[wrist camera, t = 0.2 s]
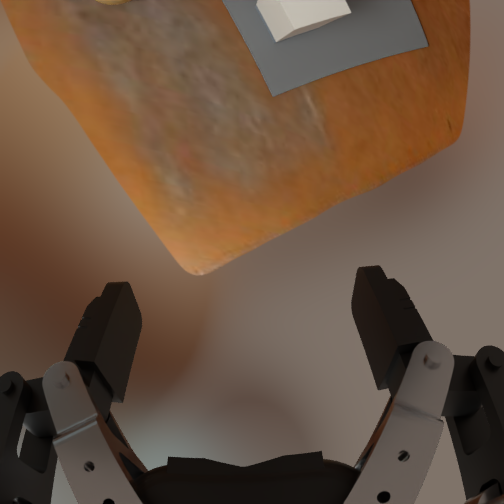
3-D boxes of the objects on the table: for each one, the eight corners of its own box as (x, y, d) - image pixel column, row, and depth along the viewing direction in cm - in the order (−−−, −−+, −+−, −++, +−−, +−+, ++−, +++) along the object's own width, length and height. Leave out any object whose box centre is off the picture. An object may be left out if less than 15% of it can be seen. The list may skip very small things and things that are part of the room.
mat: (272, 96, 33) (273, 96, 33) (211, -18, 25) (211, -19, 25) (426, 46, 29) (428, 46, 29) (377, -59, 21) (378, -60, 21)
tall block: (274, 43, 29) (294, 29, 19) (255, 7, 27) (265, -23, 17) (314, 29, 28) (351, 12, 18) (295, -7, 26) (324, -38, 16)
